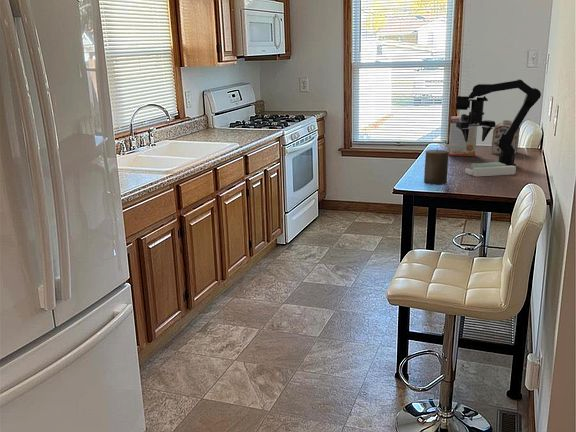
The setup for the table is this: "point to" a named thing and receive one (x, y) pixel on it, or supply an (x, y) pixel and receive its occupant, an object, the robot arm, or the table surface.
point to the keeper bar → (487, 164)
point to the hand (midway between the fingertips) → (474, 141)
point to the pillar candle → (436, 167)
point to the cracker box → (461, 139)
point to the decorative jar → (497, 133)
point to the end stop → (491, 171)
